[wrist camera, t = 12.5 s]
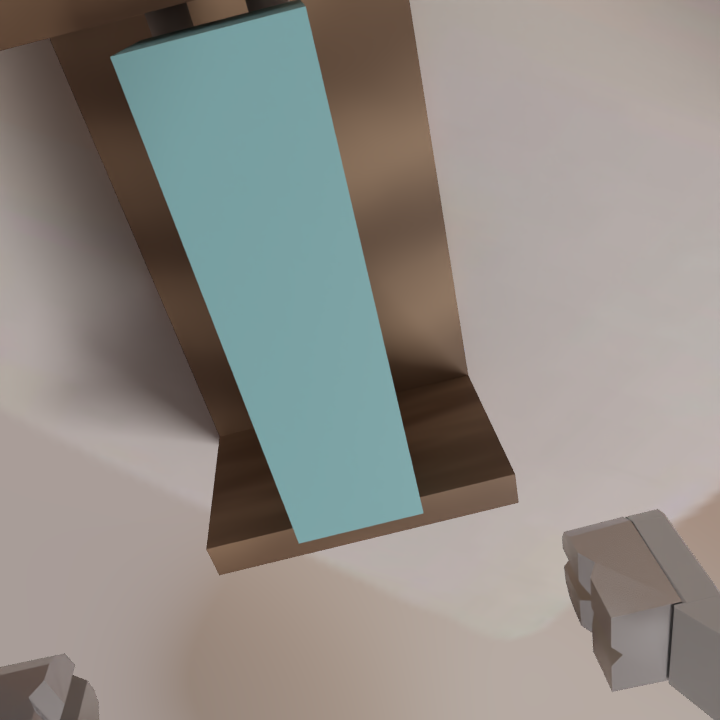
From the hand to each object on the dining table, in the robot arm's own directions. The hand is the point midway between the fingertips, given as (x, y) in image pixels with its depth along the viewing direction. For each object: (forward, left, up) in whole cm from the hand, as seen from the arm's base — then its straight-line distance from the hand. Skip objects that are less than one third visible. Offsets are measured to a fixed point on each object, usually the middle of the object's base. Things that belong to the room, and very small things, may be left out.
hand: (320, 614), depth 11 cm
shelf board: (0, 0, -14) cm, 14 cm away
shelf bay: (0, 0, -19) cm, 19 cm away
